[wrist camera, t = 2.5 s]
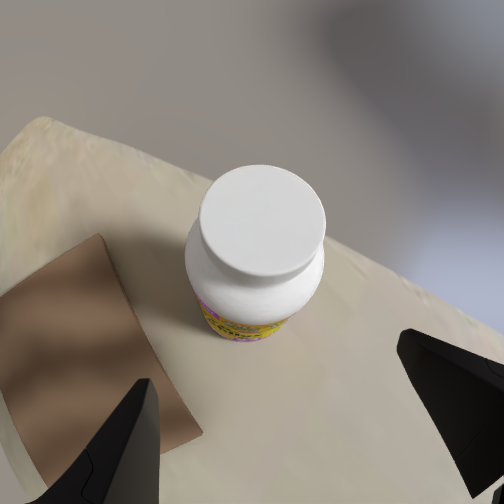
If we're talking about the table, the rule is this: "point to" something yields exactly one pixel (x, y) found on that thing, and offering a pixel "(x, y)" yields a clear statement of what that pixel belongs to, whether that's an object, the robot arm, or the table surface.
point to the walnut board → (77, 359)
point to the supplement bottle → (255, 251)
